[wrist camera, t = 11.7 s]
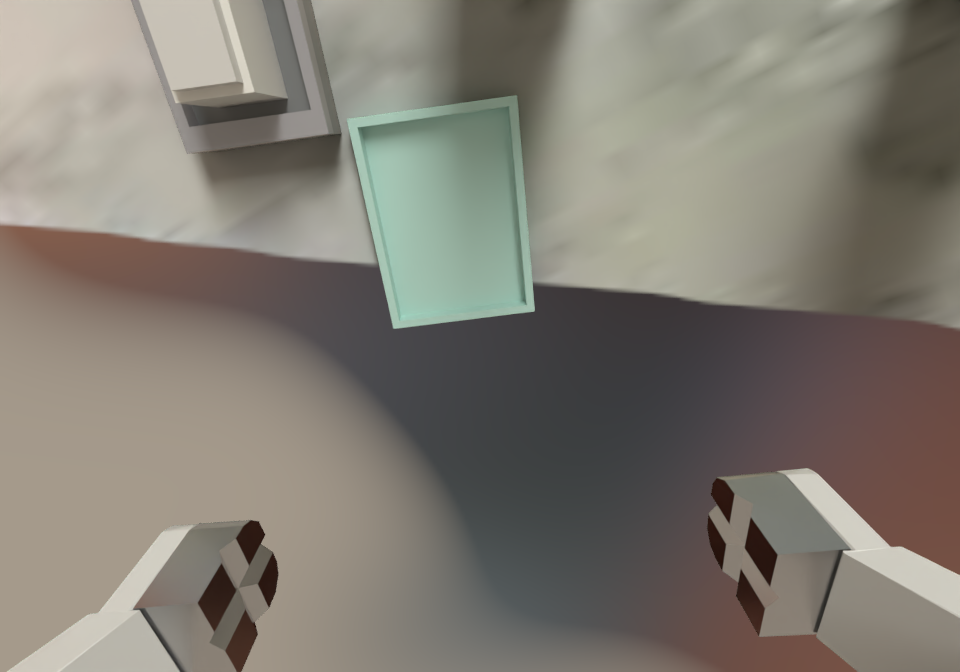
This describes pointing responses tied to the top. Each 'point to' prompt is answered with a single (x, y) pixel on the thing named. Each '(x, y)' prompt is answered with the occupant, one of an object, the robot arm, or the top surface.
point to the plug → (215, 51)
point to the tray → (447, 210)
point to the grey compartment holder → (270, 120)
